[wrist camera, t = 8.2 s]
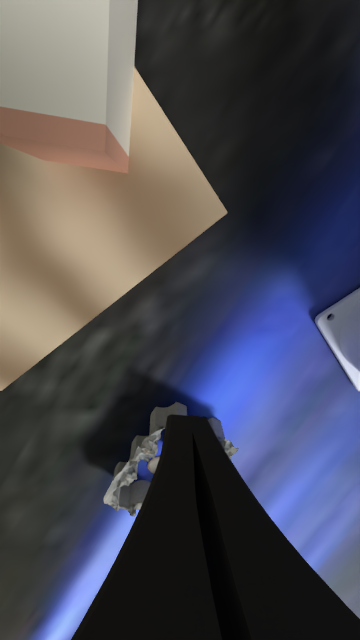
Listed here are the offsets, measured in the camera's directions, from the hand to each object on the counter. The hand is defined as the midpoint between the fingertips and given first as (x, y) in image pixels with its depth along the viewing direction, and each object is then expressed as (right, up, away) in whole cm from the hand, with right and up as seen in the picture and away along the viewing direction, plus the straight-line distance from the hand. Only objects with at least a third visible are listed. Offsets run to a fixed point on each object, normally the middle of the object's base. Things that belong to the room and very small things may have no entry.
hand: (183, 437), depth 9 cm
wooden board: (-10, +10, +7) cm, 15 cm away
